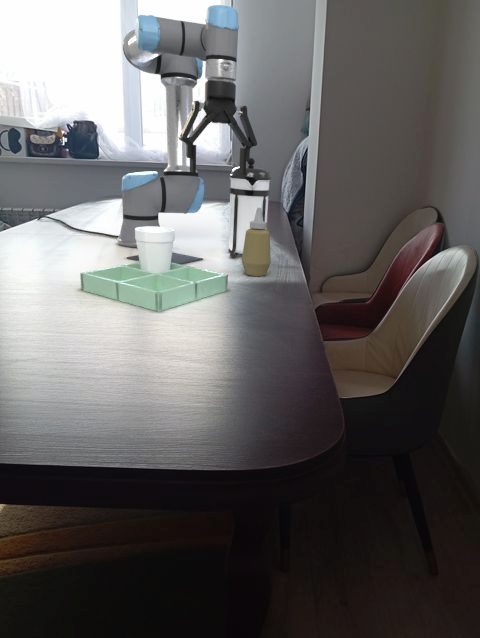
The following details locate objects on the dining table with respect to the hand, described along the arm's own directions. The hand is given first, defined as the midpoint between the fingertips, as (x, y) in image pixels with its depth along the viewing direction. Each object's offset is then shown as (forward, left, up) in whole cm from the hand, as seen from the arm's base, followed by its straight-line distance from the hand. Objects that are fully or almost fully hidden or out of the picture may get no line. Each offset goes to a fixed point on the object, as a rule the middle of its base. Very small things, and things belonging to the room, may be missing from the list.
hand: (218, 173), depth 133 cm
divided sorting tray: (+2, -25, -26) cm, 36 cm away
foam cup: (-4, -19, -26) cm, 33 cm away
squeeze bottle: (+9, +7, -26) cm, 29 cm away
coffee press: (-9, +28, -26) cm, 40 cm away
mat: (-21, +3, -26) cm, 34 cm away
